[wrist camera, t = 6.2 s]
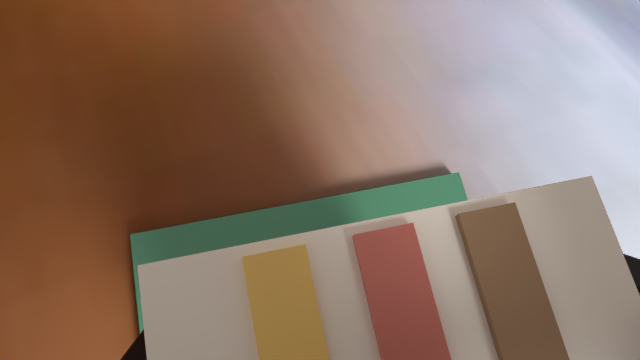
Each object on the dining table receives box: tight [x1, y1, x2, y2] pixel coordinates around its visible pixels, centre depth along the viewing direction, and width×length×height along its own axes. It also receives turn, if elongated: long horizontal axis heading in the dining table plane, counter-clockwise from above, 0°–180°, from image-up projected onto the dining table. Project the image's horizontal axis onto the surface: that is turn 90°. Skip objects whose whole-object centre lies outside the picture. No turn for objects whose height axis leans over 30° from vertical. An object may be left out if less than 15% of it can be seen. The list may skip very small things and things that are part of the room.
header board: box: [130, 172, 467, 333], centre depth 18 cm, size 12×14×4 cm
